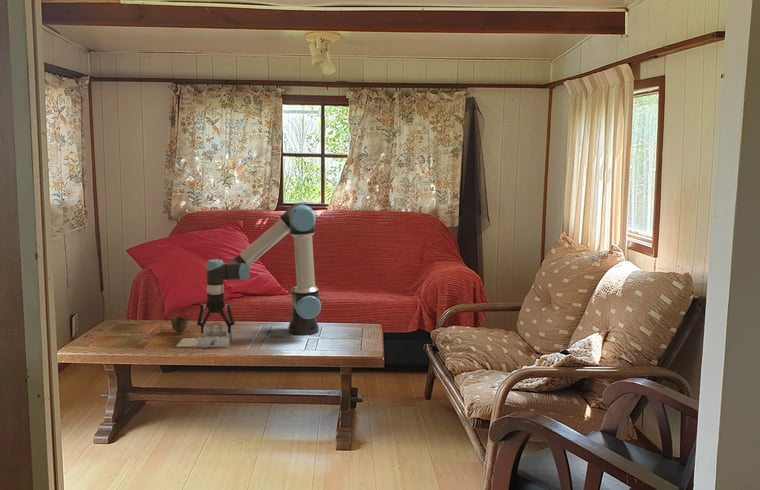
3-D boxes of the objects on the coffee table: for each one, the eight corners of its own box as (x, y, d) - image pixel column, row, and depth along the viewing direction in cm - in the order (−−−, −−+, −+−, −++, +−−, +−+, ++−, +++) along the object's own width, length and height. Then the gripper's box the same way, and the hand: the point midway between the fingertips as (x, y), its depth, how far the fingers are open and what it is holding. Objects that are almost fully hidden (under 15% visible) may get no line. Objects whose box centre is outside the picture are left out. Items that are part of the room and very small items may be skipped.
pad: (201, 339, 327) (201, 338, 327) (196, 346, 315) (196, 345, 315) (182, 339, 327) (182, 338, 327) (176, 346, 315) (176, 345, 315)
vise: (234, 339, 329) (233, 330, 328) (227, 349, 312) (227, 339, 311) (204, 339, 328) (204, 329, 327) (196, 349, 311) (196, 339, 311)
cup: (190, 333, 338) (190, 317, 337) (180, 336, 332) (180, 320, 330) (178, 331, 341) (178, 315, 340) (168, 334, 335) (168, 318, 334)
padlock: (207, 344, 319) (207, 323, 318) (209, 342, 323) (209, 321, 322) (223, 344, 319) (222, 323, 318) (224, 342, 323) (224, 321, 322)
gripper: (241, 291, 322) (241, 337, 325) (192, 291, 321) (194, 337, 324) (238, 294, 315) (239, 342, 318) (189, 294, 314) (190, 341, 317)
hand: (216, 339), depth 321 cm, fingers open, 10 cm apart
